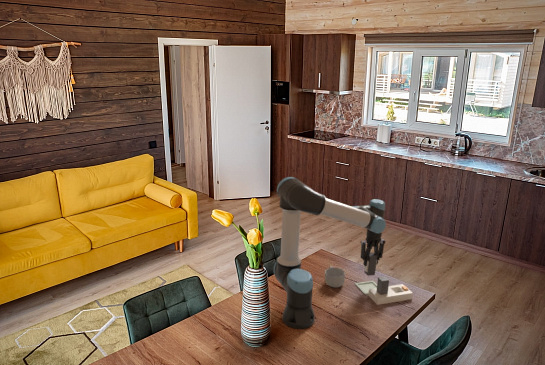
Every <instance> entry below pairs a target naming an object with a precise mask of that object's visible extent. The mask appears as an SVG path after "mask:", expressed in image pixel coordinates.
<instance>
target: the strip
mask: <svg viewBox="0 0 545 365" xmlns="http://www.w3.org/2000/svg"><path fill="white" fill-rule="evenodd" d="M376 284H377V288H374V289H369V294H367V295H368V297H369V298H370V299H371V300H372V301H373V302H374V303H375V304H376V305H378V306H379V305H384V304H385V305H386V304H390V303H391V304H392V303H397V302H403V301H408V300H409V301H410V300H413V294H414V293H413V292H412V290H410V289H409V288H408V287H407V286H406V285H404V284H403V283H401V284H394V285H389V284H390V279H388V277H386V276H379V277H377V283H376Z"/></svg>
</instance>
